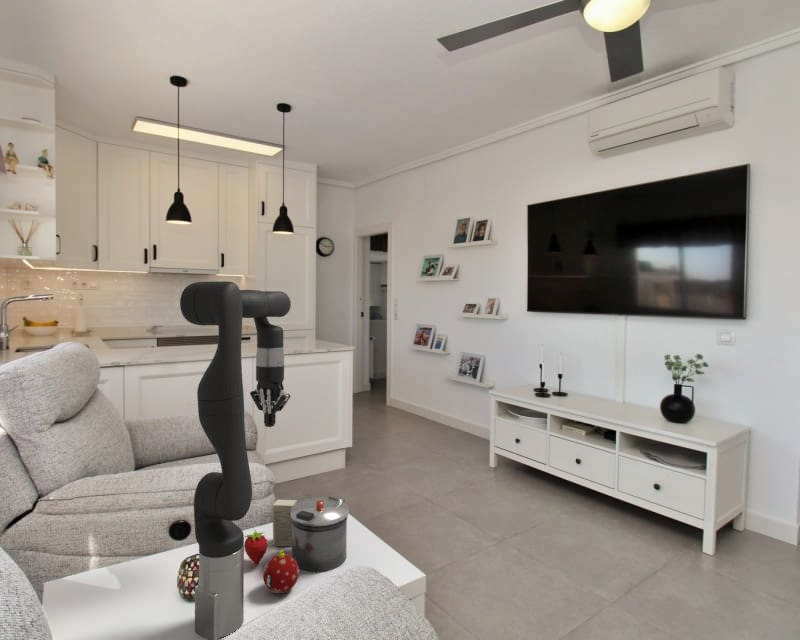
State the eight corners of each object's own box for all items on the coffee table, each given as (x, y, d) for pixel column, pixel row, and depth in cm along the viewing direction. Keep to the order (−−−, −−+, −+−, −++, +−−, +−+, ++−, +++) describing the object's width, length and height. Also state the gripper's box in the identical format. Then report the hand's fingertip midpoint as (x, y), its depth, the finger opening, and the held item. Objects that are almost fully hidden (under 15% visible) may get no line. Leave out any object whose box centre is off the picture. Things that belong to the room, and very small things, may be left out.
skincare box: (297, 539, 144) (298, 499, 143) (293, 547, 139) (293, 505, 139) (277, 538, 144) (277, 498, 144) (271, 545, 140) (272, 504, 140)
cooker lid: (326, 532, 123) (326, 519, 122) (278, 519, 130) (278, 506, 130) (360, 508, 138) (360, 496, 137) (315, 497, 145) (315, 486, 145)
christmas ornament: (306, 587, 119) (306, 548, 119) (280, 605, 112) (280, 563, 112) (281, 576, 124) (281, 538, 124) (255, 593, 117) (255, 553, 116)
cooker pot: (325, 578, 123) (326, 532, 123) (279, 563, 130) (279, 520, 130) (357, 551, 137) (357, 510, 137) (314, 539, 144) (314, 500, 144)
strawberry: (248, 574, 125) (248, 536, 125) (241, 561, 131) (241, 525, 131) (271, 567, 128) (271, 531, 128) (262, 555, 135) (262, 520, 134)
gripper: (242, 363, 131) (241, 426, 132) (279, 366, 125) (279, 432, 126) (261, 361, 138) (261, 420, 138) (298, 364, 132) (297, 426, 132)
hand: (269, 426), depth 132 cm, fingers closed
